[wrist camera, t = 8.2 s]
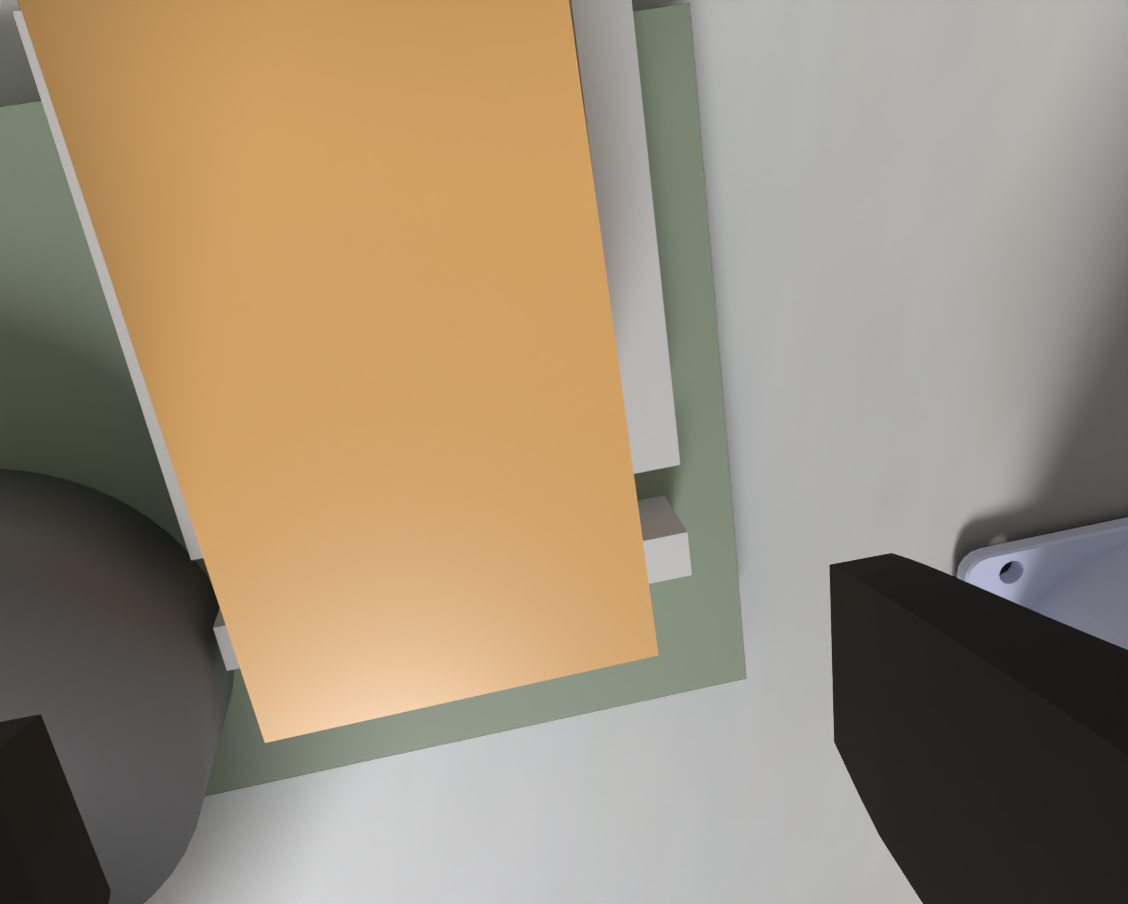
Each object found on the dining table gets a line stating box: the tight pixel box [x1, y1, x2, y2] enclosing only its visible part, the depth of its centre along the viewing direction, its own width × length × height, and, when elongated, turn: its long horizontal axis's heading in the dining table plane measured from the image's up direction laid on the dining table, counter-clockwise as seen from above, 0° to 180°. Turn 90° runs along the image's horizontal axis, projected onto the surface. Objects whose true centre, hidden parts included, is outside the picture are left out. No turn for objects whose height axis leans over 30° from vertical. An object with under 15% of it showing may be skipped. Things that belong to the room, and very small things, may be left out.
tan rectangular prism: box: [18, 0, 658, 743], centre depth 12 cm, size 4×8×6 cm, turn 9°
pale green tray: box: [0, 0, 747, 904], centre depth 15 cm, size 16×13×4 cm
